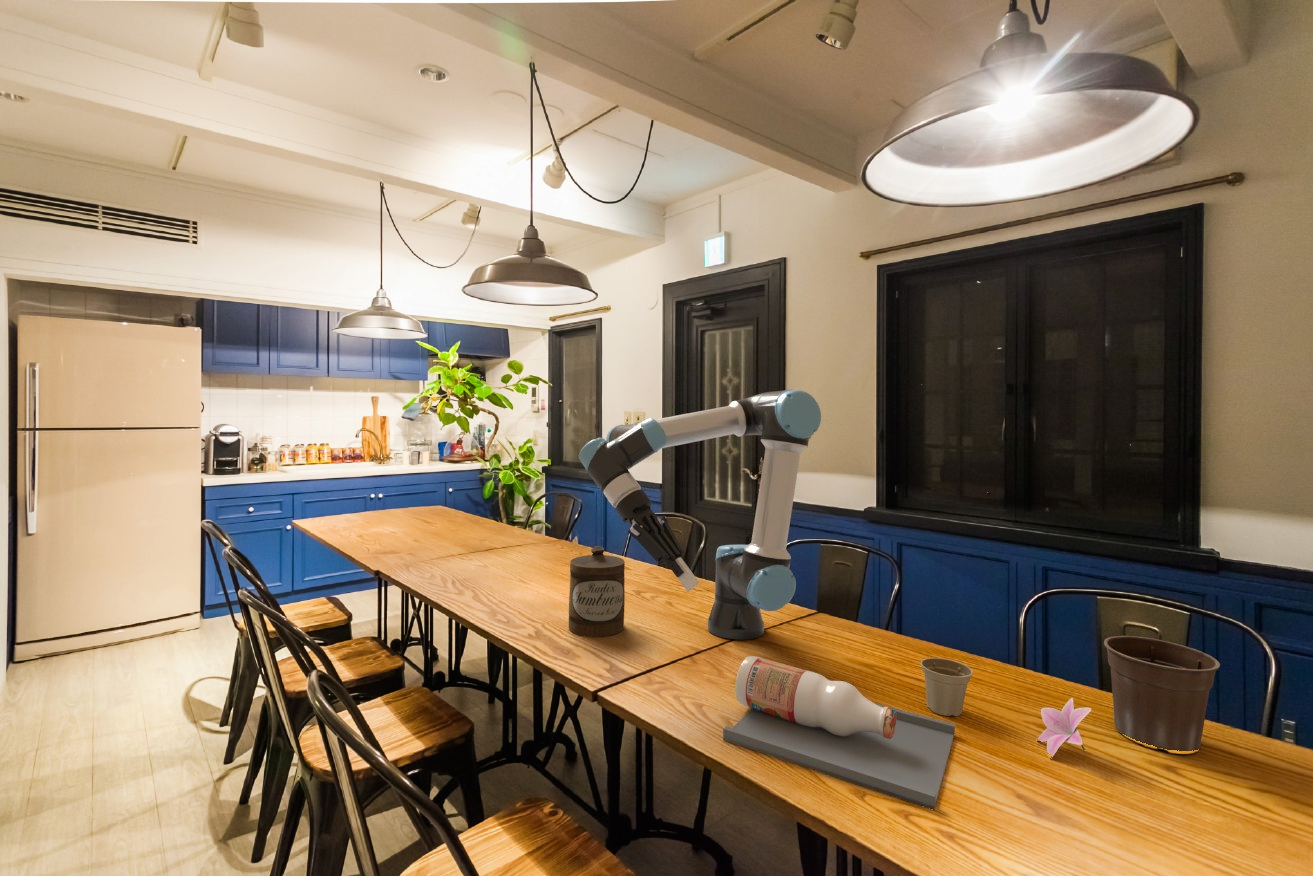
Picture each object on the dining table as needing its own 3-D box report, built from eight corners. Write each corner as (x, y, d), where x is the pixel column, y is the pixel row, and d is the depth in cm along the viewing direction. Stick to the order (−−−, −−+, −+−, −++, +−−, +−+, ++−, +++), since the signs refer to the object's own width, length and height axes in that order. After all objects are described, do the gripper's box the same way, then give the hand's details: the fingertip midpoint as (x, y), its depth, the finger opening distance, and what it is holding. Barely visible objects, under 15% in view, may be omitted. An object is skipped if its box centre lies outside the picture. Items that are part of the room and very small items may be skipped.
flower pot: (967, 703, 123) (968, 661, 123) (975, 725, 114) (977, 680, 114) (916, 695, 126) (918, 654, 126) (920, 716, 117) (922, 672, 117)
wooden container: (571, 639, 153) (573, 552, 153) (566, 620, 168) (567, 541, 167) (628, 635, 157) (630, 551, 156) (618, 617, 171) (620, 540, 171)
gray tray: (723, 740, 106) (723, 728, 106) (776, 687, 128) (777, 678, 128) (934, 810, 88) (934, 797, 88) (954, 735, 110) (955, 724, 110)
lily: (1043, 734, 113) (1022, 693, 113) (1111, 730, 107) (1089, 687, 106) (1044, 779, 104) (1021, 735, 104) (1117, 778, 98) (1093, 731, 97)
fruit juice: (755, 647, 122) (900, 686, 106) (755, 692, 123) (899, 737, 107) (733, 665, 115) (886, 710, 99) (733, 712, 115) (885, 764, 99)
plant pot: (1182, 771, 100) (1187, 674, 100) (1081, 725, 115) (1084, 641, 114) (1235, 752, 107) (1239, 661, 106) (1132, 711, 121) (1136, 631, 121)
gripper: (634, 506, 139) (696, 590, 131) (600, 513, 128) (666, 605, 120) (654, 485, 136) (719, 570, 128) (621, 490, 125) (690, 583, 117)
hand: (693, 587), depth 124 cm, fingers closed
